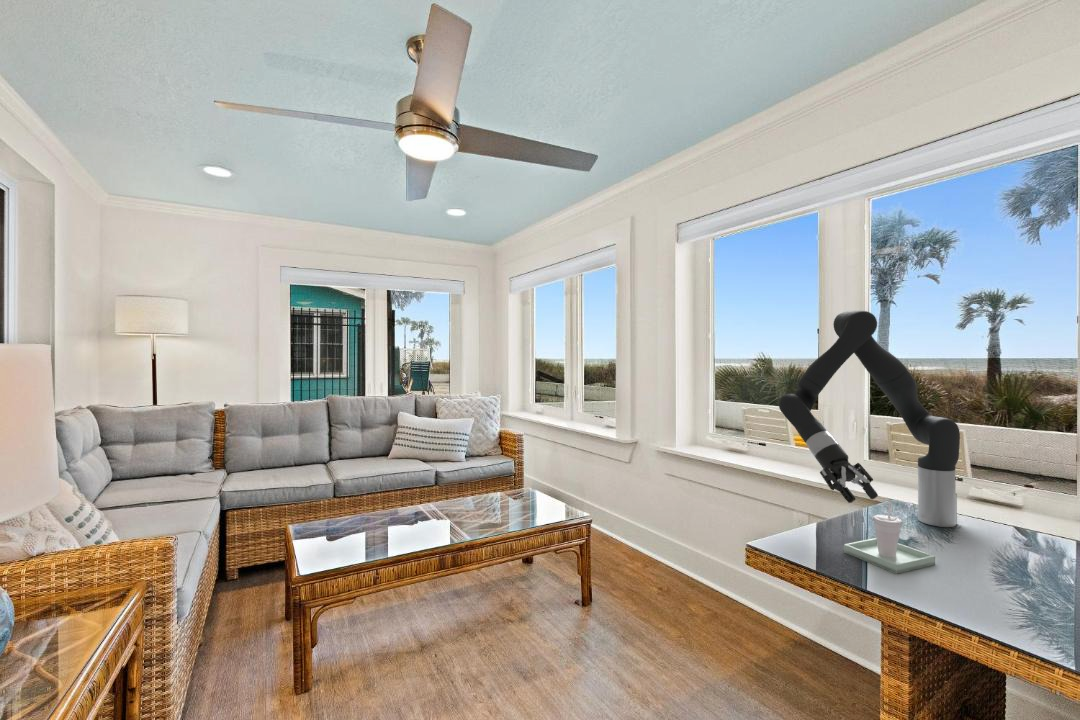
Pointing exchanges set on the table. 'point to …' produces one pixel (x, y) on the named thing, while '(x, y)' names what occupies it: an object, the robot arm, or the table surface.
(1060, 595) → the table surface
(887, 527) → the smoothie
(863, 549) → the tray
